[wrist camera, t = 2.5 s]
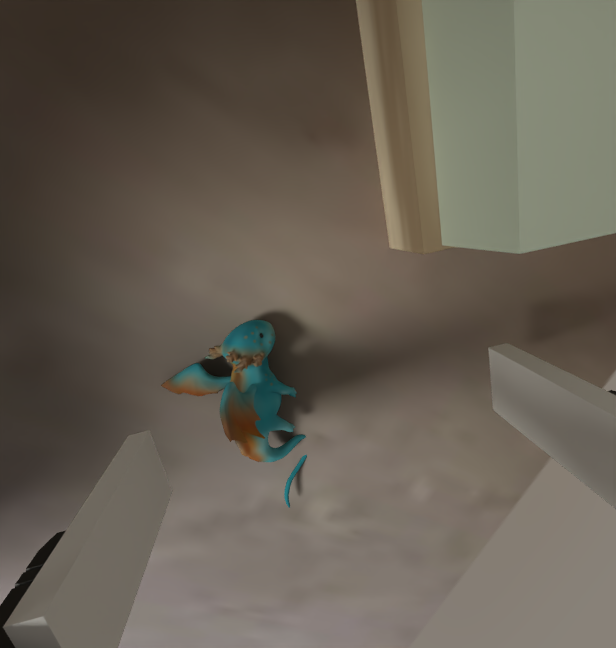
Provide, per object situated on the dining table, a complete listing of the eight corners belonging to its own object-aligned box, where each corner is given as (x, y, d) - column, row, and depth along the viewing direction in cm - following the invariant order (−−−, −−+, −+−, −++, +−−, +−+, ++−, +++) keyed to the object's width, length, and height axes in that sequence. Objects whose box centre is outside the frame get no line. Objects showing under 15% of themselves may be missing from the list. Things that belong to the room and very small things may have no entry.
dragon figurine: (399, 394, 18) (291, 315, 13) (334, 546, 16) (182, 524, 11) (311, 363, 23) (208, 297, 18) (255, 477, 21) (124, 441, 16)
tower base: (386, 247, 17) (424, 254, 13) (340, -79, 13) (373, -200, 10) (623, 194, 18) (724, 186, 14) (637, -126, 14) (777, -255, 10)
